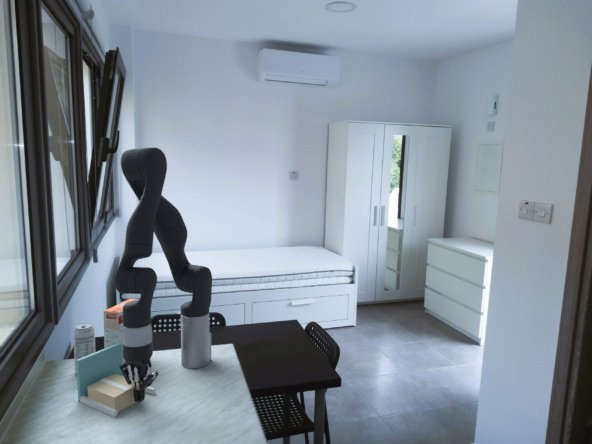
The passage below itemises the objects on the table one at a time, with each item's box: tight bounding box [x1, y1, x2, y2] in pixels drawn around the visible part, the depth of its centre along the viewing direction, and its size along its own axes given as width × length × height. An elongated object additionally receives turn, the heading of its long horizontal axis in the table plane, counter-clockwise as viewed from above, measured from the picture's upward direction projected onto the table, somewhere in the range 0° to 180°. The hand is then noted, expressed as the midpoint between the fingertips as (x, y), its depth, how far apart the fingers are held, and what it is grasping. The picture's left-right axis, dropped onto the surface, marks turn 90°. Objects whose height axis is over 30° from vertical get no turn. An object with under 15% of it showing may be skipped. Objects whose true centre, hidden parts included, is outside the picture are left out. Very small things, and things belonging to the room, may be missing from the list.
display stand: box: [76, 343, 156, 418], centre depth 122 cm, size 14×15×12 cm
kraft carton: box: [88, 373, 137, 414], centre depth 120 cm, size 9×11×5 cm
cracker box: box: [103, 298, 140, 364], centre depth 140 cm, size 14×6×21 cm, turn 166°
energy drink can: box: [72, 322, 96, 373], centre depth 136 cm, size 6×6×15 cm
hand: (139, 400), depth 118 cm, fingers closed
